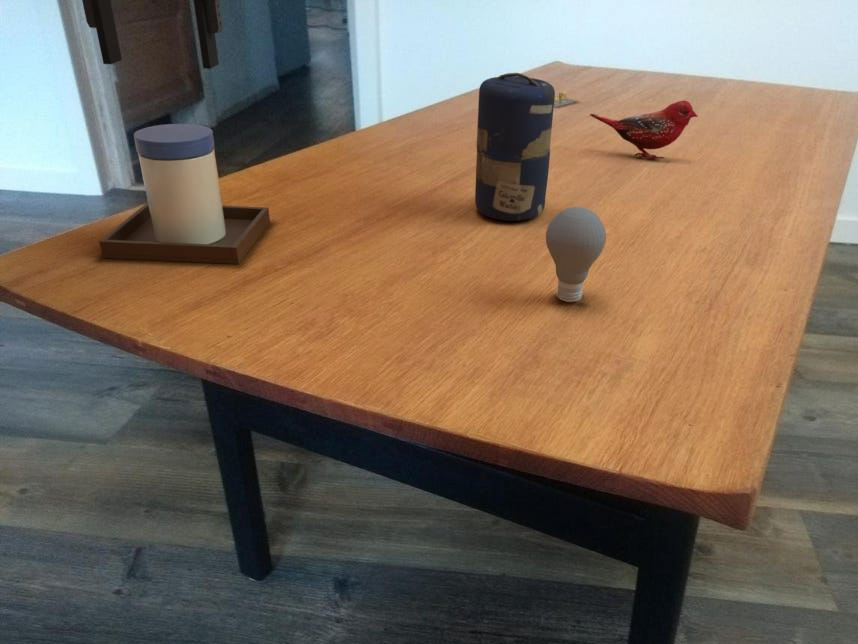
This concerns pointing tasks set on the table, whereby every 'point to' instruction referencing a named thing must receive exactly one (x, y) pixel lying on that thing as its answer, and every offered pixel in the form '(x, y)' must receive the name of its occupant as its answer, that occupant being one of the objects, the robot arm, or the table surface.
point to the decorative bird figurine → (653, 127)
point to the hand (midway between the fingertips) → (162, 64)
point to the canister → (513, 146)
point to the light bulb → (574, 248)
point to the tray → (140, 243)
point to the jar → (184, 199)
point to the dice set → (562, 99)
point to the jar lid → (174, 141)
